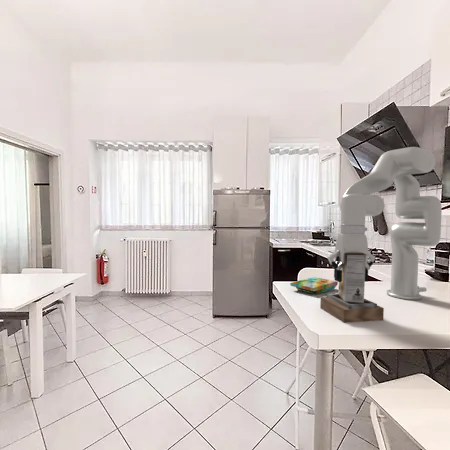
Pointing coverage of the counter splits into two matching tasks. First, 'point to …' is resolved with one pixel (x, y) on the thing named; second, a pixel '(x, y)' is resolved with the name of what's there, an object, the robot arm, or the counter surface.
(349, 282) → the coffee box
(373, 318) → the plinth
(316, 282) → the puzzle game
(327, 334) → the counter surface
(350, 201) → the robot arm
